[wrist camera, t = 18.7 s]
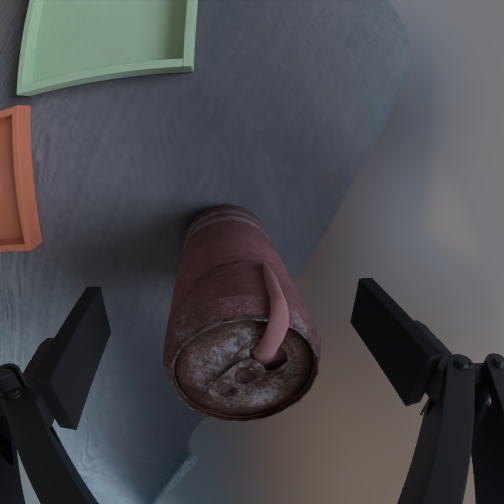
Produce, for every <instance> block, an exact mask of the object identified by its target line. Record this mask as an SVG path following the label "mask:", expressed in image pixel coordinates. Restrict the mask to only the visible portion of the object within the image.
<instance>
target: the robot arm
mask: <svg viewBox="0 0 504 504" xmlns="http://www.w3.org/2000/svg"><path fill="white" fill-rule="evenodd" d="M351 324H352V325H353V327H354V328H355V330H356V331H357V333H358V334H359V336H360V337H361V339H362V340H363V342H364V343H365V345H366V346H367V347H368V349H369V350H370V352H371V353H372V355H373V356H374V358H375V359H376V361H377V362H378V364H379V366H380V367H381V369H382V370H383V372H384V373H385V374H386V376H387V378H388V379H389V381H390V382H391V384H392V385H393V387H394V388H395V390H396V392H397V393H398V395H399V396H400V398H401V399H402V401H403V402H404V404H405V405H406V406H409V405H412V404H415V403H418V402H420V401H421V399H422V397H423V395H424V393H426V394H427V395H428V397H429V399H428V400H427V402H426V404H425V406H424V408H423V409H422V411H421V413H420V415H422V414H423V412H424V415H423V420H422V425H421V429H420V433H419V437H418V441H417V445H416V448H415V452H414V455H413V459H412V462H411V465H410V468H409V472H408V475H407V478H406V481H405V484H404V487H403V489H402V492H401V495H400V498H399V500H398V503H397V504H462V503H463V499H464V493H465V489H466V483H467V477H468V471H469V464H470V456H472V463H473V473H474V484H475V499H476V504H504V358H503V356H501V355H499V354H494V353H493V354H489V355H487V357H486V359H485V361H484V363H473V362H472V361H471V360H470V359H469V358H468V357H466V356H463V355H460V354H454V355H452V353H451V352H450V351H449V350H448V349H447V348H446V347H445V346H444V345H443V343H442V342H441V341H440V340H439V339H438V338H436V336H435V335H434V334H433V333H432V332H431V331H430V330H429V329H428V328H427V327H426V326H425V325H424V324H422V323H420V322H419V321H417V320H416V321H413V320H412V319H411V318H410V317H409V316H408V314H406V312H405V311H404V310H403V309H402V308H401V307H400V306H399V305H398V304H397V303H396V302H395V301H394V300H393V299H392V298H391V297H390V296H389V295H388V294H387V293H386V292H385V291H384V290H383V289H382V288H381V287H380V286H379V285H378V284H377V283H376V282H375V281H374V280H373V279H372V278H361V279H359V282H358V288H357V293H356V298H355V303H354V308H353V312H352V318H351ZM110 334H111V330H110V326H109V322H108V318H107V314H106V309H105V305H104V300H103V296H102V291H101V287H87V288H86V289H85V291H84V292H83V294H82V295H81V297H80V298H79V300H78V301H77V303H76V304H75V306H74V308H73V309H72V311H71V312H70V314H69V315H68V317H67V319H66V320H65V322H64V323H63V325H62V327H61V328H60V330H59V332H58V333H57V335H56V336H55V338H47V339H46V340H45V341H44V342H42V343H41V344H40V345H39V347H38V349H37V350H36V353H35V354H34V355H33V357H32V360H30V362H29V364H28V365H27V367H26V369H25V371H24V372H23V374H22V372H21V370H20V368H19V367H18V366H17V365H15V364H10V363H8V364H4V365H2V366H0V504H25V500H24V495H23V490H22V485H21V479H20V472H19V465H18V457H17V450H18V453H19V456H20V458H21V461H22V464H23V466H24V469H25V471H26V473H27V476H28V478H29V480H30V482H31V485H32V487H33V489H34V491H35V493H36V495H37V497H38V499H39V501H40V503H41V504H99V503H98V502H97V501H96V499H95V498H94V496H93V495H92V493H91V492H90V490H89V489H88V487H87V486H86V484H85V483H84V481H83V479H82V478H81V476H80V475H79V473H78V471H77V470H76V468H75V466H74V465H73V463H72V461H71V459H70V458H69V456H68V454H67V452H66V450H65V449H64V447H63V445H62V443H61V441H60V439H59V437H58V435H57V433H56V431H55V429H54V428H53V426H52V424H53V421H54V419H56V421H57V423H58V424H59V426H60V427H62V428H68V429H74V430H77V427H78V424H79V421H80V417H81V414H82V411H83V408H84V405H85V402H86V399H87V396H88V393H89V390H90V387H91V384H92V382H93V379H94V376H95V373H96V370H97V368H98V365H99V362H100V360H101V357H102V354H103V352H104V349H105V347H106V344H107V342H108V339H109V336H110ZM490 399H491V405H490V401H489V400H490Z"/></svg>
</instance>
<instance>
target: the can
mask: <svg viewBox="0 0 504 504" xmlns="http://www.w3.org/2000/svg"><path fill="white" fill-rule="evenodd" d="M320 342H321V339H320V337H319V335H318V332H317V330H316V327H315V325H314V323H313V321H312V319H311V317H310V315H309V313H308V311H307V309H306V307H305V305H304V303H303V301H302V299H301V297H300V295H299V293H298V291H297V289H296V287H295V285H294V284H293V282H292V280H291V278H290V276H289V274H288V272H287V270H286V268H285V266H284V264H283V262H282V260H281V258H280V257H279V255H278V253H277V251H276V249H275V247H274V245H273V243H272V241H271V239H270V238H269V236H268V234H267V232H266V230H265V228H264V226H263V224H262V222H261V221H260V220H259V219H258V218H257V217H256V216H255V215H254V214H253V213H251V212H249V211H248V210H246V209H244V208H242V207H238V206H232V205H222V206H216V207H212V208H210V209H208V210H206V211H204V212H202V213H201V214H200V215H199V216H198V217H197V218H196V219H195V220H194V221H193V222H192V223H191V225H190V227H189V229H188V231H187V233H186V236H185V241H184V245H183V250H182V254H181V259H180V264H179V269H178V273H177V278H176V283H175V288H174V293H173V299H172V304H171V309H170V315H169V320H168V326H167V332H166V337H165V343H164V359H163V364H164V367H165V370H166V372H167V375H168V377H169V380H170V382H171V383H172V385H173V388H174V390H175V392H176V395H177V396H178V397H179V398H180V399H181V400H182V401H183V402H184V403H185V404H186V405H187V406H188V407H189V408H190V409H192V410H194V411H196V412H198V413H199V414H201V415H203V416H205V417H209V418H213V419H217V420H221V421H229V422H248V421H254V420H260V419H265V418H268V417H271V416H273V415H276V414H279V413H281V412H283V411H285V410H287V409H288V408H290V407H291V406H293V405H294V404H296V403H298V402H299V401H300V400H301V399H302V398H303V397H304V396H305V394H307V392H308V391H309V390H310V389H311V388H312V385H313V383H314V381H315V379H316V377H317V375H318V364H319V360H320V345H321V343H320Z"/></svg>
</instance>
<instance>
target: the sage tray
mask: <svg viewBox="0 0 504 504" xmlns="http://www.w3.org/2000/svg"><path fill="white" fill-rule="evenodd" d="M197 5H198V0H30V1H29V5H28V10H27V15H26V20H25V25H24V30H23V36H22V43H21V50H20V58H19V68H18V80H17V95H22V96H32V95H36V94H40V93H44V92H48V91H52V90H56V89H61V88H65V87H70V86H75V85H80V84H85V83H90V82H96V81H102V80H109V79H116V78H123V77H131V76H141V75H151V74H163V73H180V72H193V71H194V52H195V34H196V19H197Z"/></svg>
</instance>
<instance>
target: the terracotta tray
mask: <svg viewBox="0 0 504 504" xmlns="http://www.w3.org/2000/svg"><path fill="white" fill-rule="evenodd" d="M40 243H42V236H41V231H40V225H39V219H38V212H37V205H36V197H35V188H34V178H33V166H32V150H31V106H27V105H16V106H13V107H10V108H7V109H4V110H1V111H0V252H8V251H32V250H33V249H34V248H36V247H37V246H38V245H39V244H40Z"/></svg>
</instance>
